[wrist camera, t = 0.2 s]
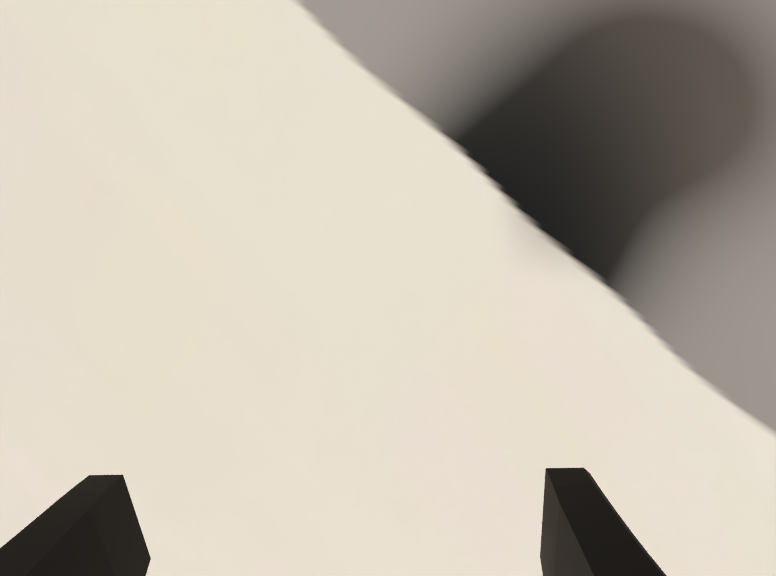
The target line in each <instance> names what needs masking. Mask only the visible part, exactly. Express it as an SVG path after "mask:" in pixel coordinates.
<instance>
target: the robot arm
mask: <svg viewBox="0 0 776 576" xmlns="http://www.w3.org/2000/svg"><path fill="white" fill-rule="evenodd" d="M540 558H541V565H542V571H543V576H666V575H665V573H664V572H663V571H662V570H661V568H660V567H659V566H658V565H657V564H656V562H655V561H654V560H653V559H652V557H651V556H650V555H649V554H648V553H647V551H646V550H645V549H644V547H643V546H642V545H641V544H640V542H639V541H638V540H637V538H636V537H635V536H634V535H633V533H632V532H631V531H630V529H629V528H628V527H627V525H626V524H625V523H624V521H623V520H622V519H621V517H620V516H619V514H618V513H617V512H616V510H615V509H614V508H613V506H612V505H611V503H610V502H609V501H608V499H607V498H606V496H605V495H604V494H603V492H602V491H601V489H600V488H599V486H598V485H597V483H596V482H595V480H594V479H593V477H592V476H591V474H590V473H589V472H588V471H587V470H585V469H584V468H546V473H545V489H544V505H543V521H542V536H541V552H540ZM150 559H151V558H150V555H149V552H148V549H147V546H146V543H145V540H144V537H143V534H142V531H141V528H140V525H139V522H138V519H137V516H136V513H135V510H134V507H133V504H132V501H131V498H130V495H129V492H128V489H127V486H126V483H125V480H124V477H123V475H89V476H88V477H86V478H85V479H84V480H83V481H81V482H80V483H79V484H77V485H76V486H75V487H74V488H72V489H71V490H70V491H69V492H67V493H66V494H65V495H64V496H63V497H61V498H60V499H59V500H58V501H56V502H55V503H54V504H53V505H52V506H50V507H49V508H48V509H47V510H46V511H44V512H43V513H42V514H41V515H40V516H39V517H37V518H36V519H35V520H34V521H33V522H31V523H30V524H29V525H28V526H27V527H25V528H24V529H23V530H22V531H21V532H19V533H18V534H17V535H16V536H15V537H13V538H12V539H11V540H10V541H9V542H7V543H6V544H5V545H4V546H3V547H1V548H0V576H145V575H146V572H147V569H148V566H149V562H150Z"/></svg>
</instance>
